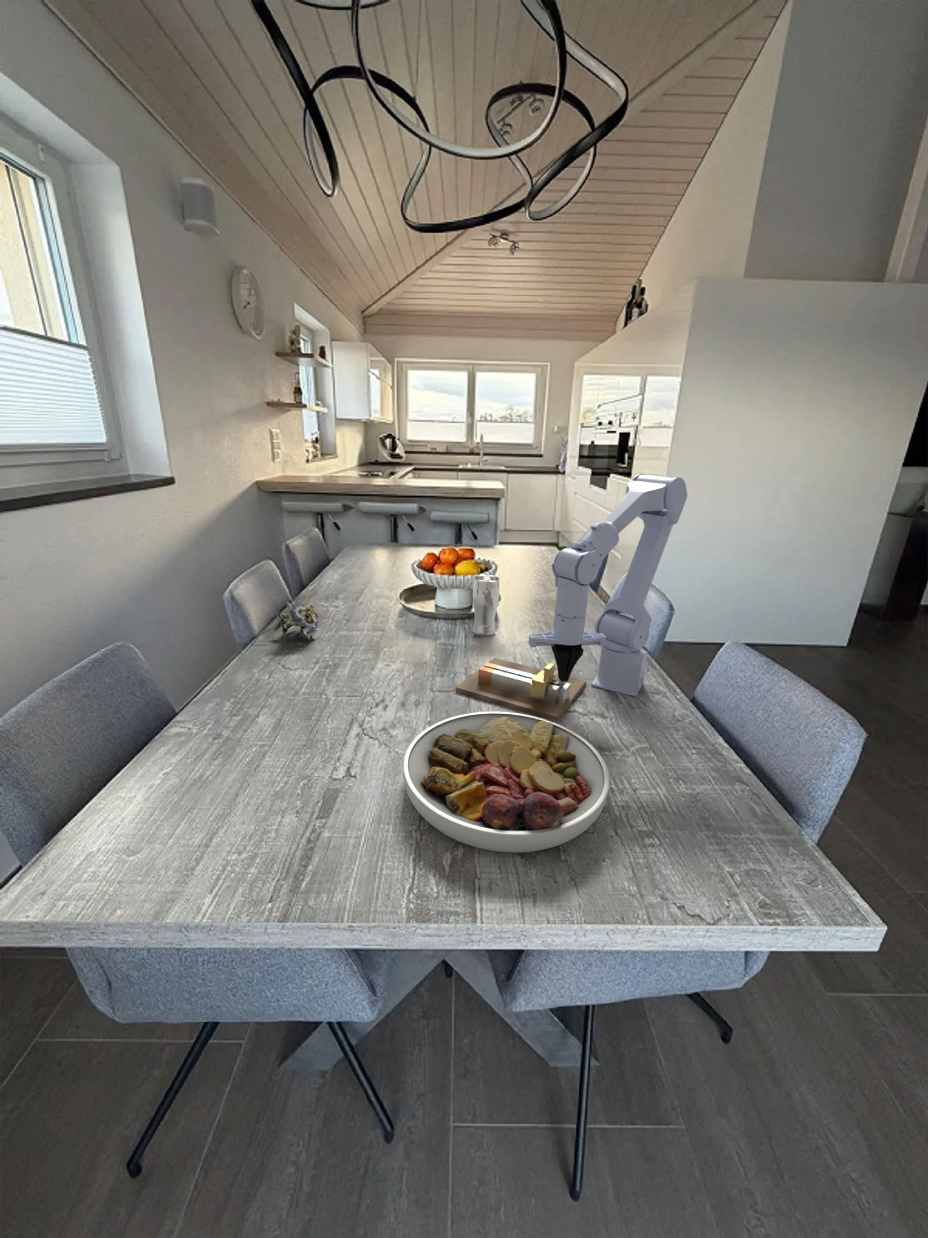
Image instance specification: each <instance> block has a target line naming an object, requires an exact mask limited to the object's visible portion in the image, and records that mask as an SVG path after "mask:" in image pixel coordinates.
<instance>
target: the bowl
mask: <svg viewBox="0 0 928 1238" xmlns="http://www.w3.org/2000/svg"><path fill="white" fill-rule="evenodd" d="M402 776H403V783H404V788H405V791H406V793H407V796H408V797H409V799H410V802H411V803H412V805H413V806H414V808H415V809H416V810H417V812H418V813H419V814H420V816H421V817H422V818H424V820H426V822H427V823H429V824H430V825H431V826H432V827H433V828H435V829H436V830H438V831H440V832H441V833H443V834H444V835H445V836H448V837H449V838H451V839H453V840H455V841H458V842H460V843H463V844H465V845H469V846H471V847H474V848H478V849H482V850H485V851H491V852H492V851H493V852H500V853H501V852H503V853H530V852H537V851H538V852H539V851H542V850H547V849H551V848H554V847H557V846H560V845H563V844H565V843H567V842H569V841H571V840H573V839H575V838H576V837H579V836H580V835H581V834H582V833H584V832H585V831H587V830H588V829H589V828H590V827H591V826H592V825H593V823H594V822H595V821H596V820H597V819H598V817H599V816H600V815H601V813H602V811H603V809H604V807H605V805H606V803H607V800H608V795H609V790H610V774H609V769H608V766H607V764H606V762H605V760H604V758H603V757H602V756H601V754H600V753H599V752H598V751H597V749H596V748H595V747H594V746H593V745H592V744H591V743H590V742H589V741H587V740H586V739H585V738H584V737H582V736H581V735H580V734H578V733H576V732H575V731H573V730H571V729H569V728H567V727H565V726H563V725H561V724H559V723H556V722H555V721H552V720H551V721H550V720H549V719H546V718H543V717H539V716H536V715H531V714H525V713H518V712H510V711H509V712H507V711H479V712H477V711H476V712H469V713H463V714H459V715H455V716H452V717H448V718H445V719H443V720H440V721H438V722H436V723H434V724H432V725H430V726H428V727H426V728H425V729H424V730H423V731H421V732H420V733H419V734H418V735H417V736H415V737H414V738H413V740H412V741H411V742H410V744H409V745H408V747H407V749H406V751H405V753H404V757H403V762H402Z"/></svg>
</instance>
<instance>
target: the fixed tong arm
mask: <svg viewBox="0 0 928 1238" xmlns="http://www.w3.org/2000/svg"><path fill="white" fill-rule="evenodd" d="M483 666H484V665H483ZM483 666H481V667H480V668H479V669H478V670H479V675H478V683H479V684H483V685H487V686H490V687H494V688H497V689H501V690H505V691H508V692H512V693H515V694H519V695H522V696H526V697H530V698H533V699H537V700H540V701H544V702H547V703H551V704H556V703H557V702H558V697H559V702H558V706H563V705H564V704H565V702H566V701H567V700H568V699H569V695H570V687H571V683H566V684H565V685H564V686H563V688H562V689H561V690H560V693H559V688H560V687H559V686H555V685H551V684H548V686H547V687H546V692H545V699H544V700H542V699H539V698H535V697H532V696H529V695H530V684H531V683H532V679H528V678H524V677H521V676H517V675H513V674H509V673H505V672H502V671H498V670H494V669H491V668H487V667H483Z"/></svg>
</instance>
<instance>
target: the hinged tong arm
mask: <svg viewBox="0 0 928 1238" xmlns="http://www.w3.org/2000/svg"><path fill="white" fill-rule="evenodd" d="M483 666H484V667H487V668H491V669H494V670H498V671H502V672H505V673H509V674H513V675H517V676H521V677H524V678H528V679H533V678H534V677H535V676H536V675H534V674H530V673H526V672H522V671H518V670H514V669H510V668H506V667H502V666H499V665H495V664H491V663H488V662H486V663H484V665H483ZM549 684H551V685H555V686H559V687H560V688H559V693H560V690H561V689H562V688H563V685H564V682H561V681H560V680H552V681H551V682H550V683H549ZM558 699H559V697H558Z"/></svg>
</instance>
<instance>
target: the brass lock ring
mask: <svg viewBox="0 0 928 1238" xmlns="http://www.w3.org/2000/svg"><path fill="white" fill-rule="evenodd" d="M555 668H556V663H555V662H549V663H548V664H547V665H546V666H545V667H544V669H541V671H540V672H539V673H538V674H537V675H536V676H535V677H534V678H533V679H532V683H531V684H530V695H529V696H532V697H535V698H539V699H542V700H544V699H545V692H546V687H547V686H548V684H549V683H550V682H551V681H552V680H553V679H554V678H555V676H556V674H555V673H556V672H555ZM543 670H544V671H543Z"/></svg>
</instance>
